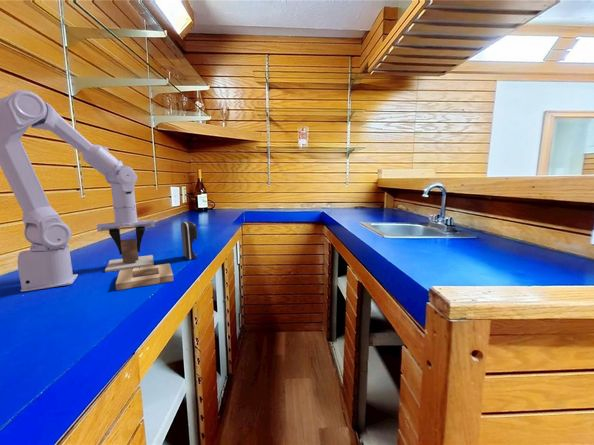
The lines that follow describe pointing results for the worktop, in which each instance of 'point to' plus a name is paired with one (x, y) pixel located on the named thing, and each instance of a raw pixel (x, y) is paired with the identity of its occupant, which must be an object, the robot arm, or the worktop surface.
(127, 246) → the block
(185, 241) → the coffee machine
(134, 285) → the wooden board
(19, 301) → the worktop surface
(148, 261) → the mat
